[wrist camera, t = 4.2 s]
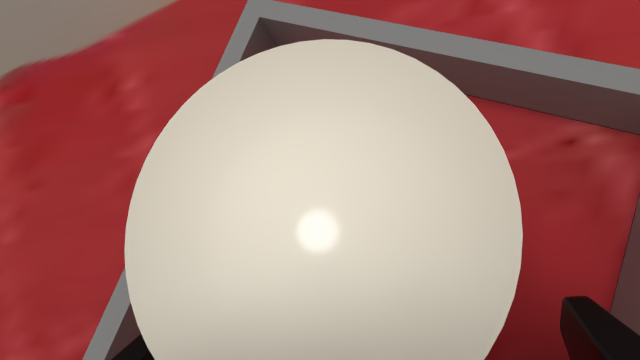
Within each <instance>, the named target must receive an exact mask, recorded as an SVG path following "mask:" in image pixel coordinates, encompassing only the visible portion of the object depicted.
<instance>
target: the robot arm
mask: <svg viewBox="0 0 640 360" xmlns="http://www.w3.org/2000/svg"><path fill="white" fill-rule="evenodd" d="M560 330H561V334H562V337H563V340H564V343H565V346H566V349H567V351H568V354H569V357H570V360H640V335H639V334H637V333H636V332H635V331H633V330H632V329H631V328H629V327H628V326H627V325H625V324H624V323H623V322H621V321H620V320H619V319H617V318H616V317H615V316H613V315H612V314H610V313H609V312H608V311H606V310H605V309H604V308H602V307H601V306H600V305H598V304H597V303H596V302H594V301H593V300H592V299H590V298H588V297H586V296H571V297H565V298H564V299H563V301H562V309H561V319H560ZM111 360H155V359H154V357H153V356H152V354H151V352H150V351H149V349H148V347H147V345H146V343H145V341H144V338H143V336H142V334H140V335H139V336H138V337H136V338H135V339H134V340H133V341H132V342H131V343H130V344H128V345H127V346H126V347H125V348H124V349H123V350H121V351H120V352H119V353H118V354H117V355H116V356H115V357H113V358H112V359H111Z"/></svg>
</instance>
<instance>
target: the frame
mask: <svg viewBox="0 0 640 360" xmlns="http://www.w3.org/2000/svg"><path fill="white" fill-rule="evenodd" d="M321 39H335V40H352V41H359V42H366V43H371V44H375V45H379V46H382V47H386V48H390V49H393V50H396V51H398V52H400V53H403V54H405V55H408V56H410V57H412V58H415V59H417V60H418V61H420V62H422V63H423V64H425V65H427V66H429V67H430V68H432V69H434V70H436V71H437V72H438V73H440V74H441V75H442V76H444V77H445V78H446V79H447V80H449V81H450V82H451V83H453V84H454V85H455V86H456V87H458V89H459V90H460V91H461V92H462V93H463V94H466V95H471V96H475V97H479V98H484V99H488V100H492V101H497V102H501V103H505V104H510V105H514V106H518V107H523V108H527V109H531V110H536V111H540V112H544V113H549V114H553V115H557V116H562V117H566V118H570V119H575V120H579V121H583V122H588V123H592V124H596V125H600V126H605V127H609V128H613V129H618V130H622V131H626V132H631V133H635V134H639V135H640V69H635V68H630V67H625V66H619V65H614V64H609V63H603V62H598V61H593V60H587V59H582V58H577V57H571V56H566V55H561V54H555V53H550V52H545V51H539V50H534V49H529V48H523V47H518V46H513V45H507V44H502V43H497V42H491V41H486V40H481V39H475V38H470V37H465V36H459V35H454V34H449V33H443V32H438V31H433V30H427V29H422V28H417V27H411V26H406V25H401V24H395V23H390V22H385V21H379V20H374V19H369V18H363V17H358V16H353V15H347V14H342V13H337V12H331V11H326V10H321V9H315V8H310V7H305V6H299V5H294V4H289V3H283V2H278V1H273V0H248V2H247V4H246V6H245V8H244V11H243V13H242V15H241V17H240V19H239V21H238V24H237V26H236V28H235V30H234V32H233V34H232V37H231V39H230V41H229V43H228V45H227V47H226V50H225V52H224V54H223V56H222V58H221V60H220V63H219V65H218V67H217V69H216V71H215V73H214V76H213V78H214V77H216V76H217V75H218V74H220V73H222V72H223V71H225V70H227V69H228V68H230V67H231V66H233V65H235V64H236V63H238V62H240V61H243V60H245V59H247V58H249V57H251V56H253V55H255V54H258V53H261V52H263V51H266V50H269V49H272V48H275V47H278V46H282V45H287V44H292V43H296V42H301V41H311V40H321ZM213 78H212V79H213ZM610 314H612V315H613V316H615V317H616V318H617V319H619V320H620V321H621V322H623V323H624V324H625V325H627V326H628V327H629V328H631V329H632V330H633V331H635V332H636V333H637V334H639V335H640V196H639V200H638V204H637V208H636V212H635V216H634V220H633V224H632V228H631V231H630V235H629V239H628V243H627V247H626V251H625V255H624V259H623V263H622V267H621V271H620V275H619V279H618V283H617V287H616V291H615V295H614V299H613V303H612V307H611V311H610ZM140 334H141V332H140V329H139V327H138V325H137V322H136V319H135V315H134V312H133V309H132V305H131V302H130V297H129V292H128V286H127V280H126V270H125V269H124V271H123V273H122V275H121V277H120V279H119V282H118V284H117V286H116V288H115V290H114V292H113V295H112V297H111V299H110V301H109V303H108V305H107V308H106V310H105V312H104V314H103V316H102V318H101V321H100V323H99V325H98V327H97V329H96V331H95V334H94V336H93V338H92V340H91V342H90V344H89V347H88V349H87V351H86V353H85V355H84V357H83V360H111V359H112V358H113V357H115V356H116V355H117V354H118V353H119V352H120V351H121V350H123V349H124V348H125V347H126V346H127V345H128V344H130V343H131V342H132V341H133V340H134V339H135V338H136V337H138V336H139V335H140Z"/></svg>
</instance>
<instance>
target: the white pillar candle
mask: <svg viewBox="0 0 640 360" xmlns="http://www.w3.org/2000/svg"><path fill="white" fill-rule="evenodd" d="M522 240H523V233H522V220H521V206H520V202H519V197H518V193H517V188H516V184H515V179H514V176H513V173H512V170H511V168H510V165H509V163H508V160H507V157H506V155H505V152H504V150H503V148H502V146H501V144H500V142H499V141H498V139H497V137H496V135H495V133H494V131H493V130H492V128H491V126H490V125H489V123H488V122H487V121H486V119H485V118H484V117H483V115H482V114H481V113H480V111H479V110H478V109H477V107H476V106H475V105H474V104H473V103H472V102H471V101H470V100H469V99H468V98H467V97H466V96H465V95H464V94H463V93H462V92H461V91H460V90H459V89H458V87H456V86H455V85H454V84H453V83H451V82H450V81H449V80H447V79H446V78H445V77H444V76H442V75H441V74H440V73H438V72H437V71H436V70H434V69H432V68H430V67H429V66H427V65H425V64H423V63H422V62H420V61H418V60H417V59H415V58H412V57H410V56H408V55H405V54H403V53H400V52H398V51H396V50H393V49H390V48H386V47H382V46H379V45H375V44H371V43H366V42H359V41H352V40H335V39H321V40H311V41H301V42H296V43H292V44H287V45H282V46H278V47H275V48H272V49H269V50H266V51H263V52H261V53H258V54H255V55H253V56H251V57H249V58H247V59H245V60H243V61H240V62H238V63H236V64H235V65H233V66H231V67H230V68H228V69H227V70H225V71H223V72H222V73H220V74H218V75H217V76H216V77H214V78H213V79H212V80H210V81H209V82H208V83H207V84H205V85H204V86H203V87H201V88H200V89H199V90H198V91H197V92H196V93H195V94H194V95H193V96H192V97H191V98H190V99H188V100H187V101H186V102H185V103H184V104H183V105H182V107H181V108H180V109H179V110H178V111H177V113H176V114H175V115H174V116H173V117H172V118H171V120H170V121H169V122H168V124H167V125H166V127H165V128H164V129H163V131H162V132H161V134H160V135H159V137H158V138H157V140H156V141H155V143H154V145H153V147H152V149H151V151H150V153H149V154H148V156H147V158H146V160H145V162H144V165H143V167H142V170H141V172H140V175H139V177H138V179H137V182H136V185H135V189H134V192H133V196H132V199H131V203H130V207H129V213H128V219H127V225H126V236H125V270H126V280H127V286H128V292H129V297H130V302H131V305H132V309H133V312H134V315H135V319H136V322H137V325H138V327H139V329H140V332H141V334H142V336H143V338H144V341H145V343H146V345H147V347H148V349H149V351H150V352H151V354H152V356H153V357H154V359H155V360H484V359H485V358H486V356H487V355H488V353H489V351H490V350H491V348H492V346H493V344H494V342H495V341H496V339H497V337H498V335H499V333H500V331H501V330H502V328H503V326H504V323H505V320H506V318H507V315H508V312H509V309H510V307H511V304H512V301H513V299H514V295H515V291H516V286H517V281H518V277H519V272H520V267H521V254H522Z"/></svg>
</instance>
